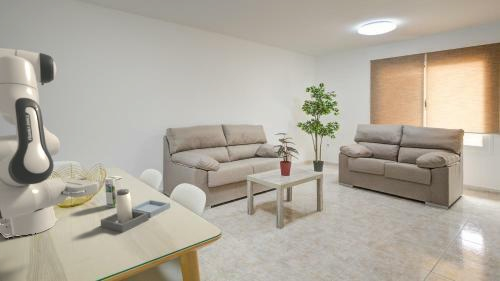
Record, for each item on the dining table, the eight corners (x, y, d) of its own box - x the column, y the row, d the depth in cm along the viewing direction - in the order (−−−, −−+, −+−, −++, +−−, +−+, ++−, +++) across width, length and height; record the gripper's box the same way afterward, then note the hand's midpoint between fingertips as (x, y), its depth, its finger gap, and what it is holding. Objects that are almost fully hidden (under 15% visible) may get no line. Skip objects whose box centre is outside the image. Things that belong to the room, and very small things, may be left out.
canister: (115, 224, 113) (112, 192, 111) (126, 219, 118) (123, 188, 116) (124, 227, 111) (121, 193, 109) (135, 221, 116) (133, 189, 114)
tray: (130, 213, 125) (130, 208, 125) (151, 204, 137) (150, 199, 136) (150, 217, 120) (150, 212, 120) (170, 207, 131) (170, 203, 131)
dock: (101, 226, 111) (100, 219, 111) (127, 215, 123) (127, 208, 123) (123, 232, 106) (122, 225, 105) (148, 219, 117) (148, 213, 117)
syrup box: (106, 206, 134) (103, 178, 133) (116, 202, 140) (113, 175, 138) (114, 208, 132) (112, 179, 130) (124, 203, 138) (122, 176, 136)
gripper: (71, 185, 84) (111, 174, 96) (35, 179, 92) (75, 170, 105) (74, 205, 84) (113, 192, 97) (37, 197, 93) (77, 186, 106)
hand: (93, 180), depth 101 cm, fingers open, 8 cm apart
